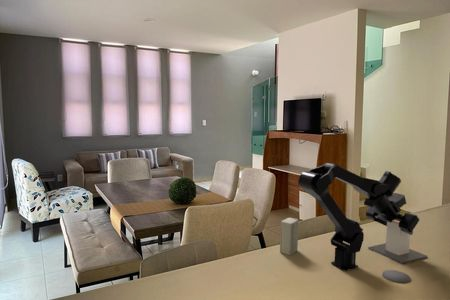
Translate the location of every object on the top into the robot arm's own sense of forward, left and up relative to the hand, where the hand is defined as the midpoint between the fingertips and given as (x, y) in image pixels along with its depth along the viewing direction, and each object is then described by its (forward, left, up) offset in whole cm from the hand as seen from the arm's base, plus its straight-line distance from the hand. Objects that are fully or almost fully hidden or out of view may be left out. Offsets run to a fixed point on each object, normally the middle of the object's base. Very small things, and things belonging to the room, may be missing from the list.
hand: (400, 230), depth 130 cm
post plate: (-1, 0, -9) cm, 9 cm away
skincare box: (-37, +18, -9) cm, 42 cm away
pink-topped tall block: (-1, 0, -8) cm, 8 cm away
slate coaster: (-18, -13, -9) cm, 24 cm away
